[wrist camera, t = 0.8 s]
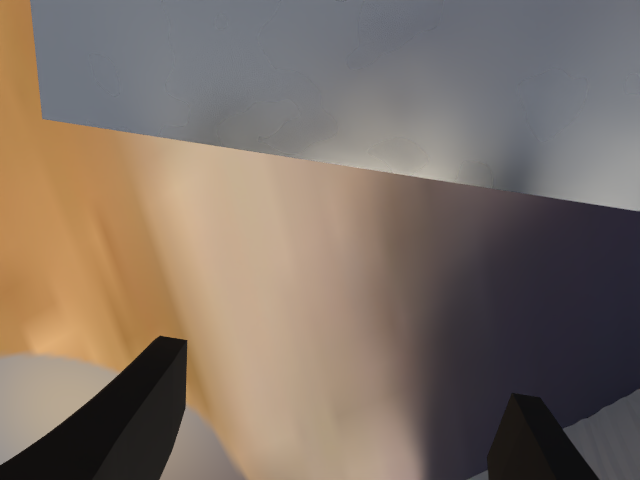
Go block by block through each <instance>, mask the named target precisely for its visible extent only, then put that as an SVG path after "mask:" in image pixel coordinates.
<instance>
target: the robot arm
mask: <svg viewBox="0 0 640 480" xmlns="http://www.w3.org/2000/svg"><path fill="white" fill-rule="evenodd" d="M186 367H187V340H182V339H176V338H170V337H164V336H159V337H158V338H156V339H155V340H154V341H153V342H152V343H151V344H150V345H149V346H148V347H147V348H146V349H145V350H144V351H143V352H142V353H141V354H140V355H139V356H138V357H137V358H136V359H135V360H134V361H133V362H132V363H131V364H130V365H129V366H127V367H126V368H125V369H124V370H123V371H122V372H121V373H120V374H119V375H118V376H117V377H116V378H115V379H114V380H112V381H111V382H110V383H109V384H108V385H107V386H106V387H105V388H103V389H102V390H101V391H100V392H99V393H98V394H97V395H96V396H95V397H93V398H92V399H91V400H90V401H88V402H87V403H86V404H85V405H84V406H82V407H81V408H80V409H79V410H77V411H76V412H75V413H74V414H72V415H71V416H70V417H69V418H67V419H66V420H65V421H64V422H62V423H61V424H60V425H59V426H57V427H56V428H54V429H53V430H52V431H50V432H49V433H48V434H47V435H45V436H44V437H42V438H41V439H39V440H38V441H37V442H35V443H34V444H32V445H31V446H29V447H28V448H26V449H25V450H24V451H22V452H21V453H19V454H18V455H16V456H14V457H13V458H11V459H10V460H8V461H6V462H5V463H3V464H2V465H0V480H159V479H160V477H161V474H162V472H163V470H164V468H165V465H166V463H167V461H168V459H169V456H170V454H171V452H172V449H173V446H174V443H175V440H176V436H177V434H178V431H179V427H180V424H181V421H182V417H183V414H184V411H185V405H186ZM487 463H488V479H489V480H600V479H599V478H598V477H597V475H596V474H595V473H594V471H593V470H592V469H591V467H590V466H589V465H588V463H587V462H586V461H585V459H584V458H583V457H582V455H581V454H580V453H579V451H578V450H577V449H576V447H575V446H574V444H573V443H572V442H571V440H570V439H569V438H568V436H567V435H566V433H565V432H564V431H563V429H562V428H561V426H560V425H559V424H558V422H557V421H556V419H555V418H554V416H553V415H552V414H551V412H550V411H549V409H548V408H547V407H546V405H545V404H544V403H543V401H542V400H541V398H540V397H533V396H527V395H521V394H515V393H512V394H511V397H510V400H509V402H508V405H507V407H506V410H505V412H504V415H503V418H502V420H501V423H500V425H499V428H498V431H497V433H496V436H495V438H494V441H493V444H492V446H491V449H490V451H489V454H488V457H487Z"/></svg>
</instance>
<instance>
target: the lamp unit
mask: <svg viewBox="0 0 640 480" xmlns="http://www.w3.org/2000/svg"><path fill="white" fill-rule="evenodd" d="M30 2H31V12H32V22H33V31H34V41H35V51H36V61H37V70H38V80H39V90H40V99H41V109H42V119H46V120H53V121H59V122H66V123H72V124H79V125H85V126H92V127H98V128H104V129H111V130H117V131H124V132H130V133H137V134H143V135H150V136H156V137H163V138H169V139H176V140H182V141H188V142H195V143H201V144H208V145H214V146H221V147H227V148H234V149H240V150H247V151H253V152H259V153H266V154H272V155H279V156H285V157H292V158H298V159H305V160H311V161H318V162H324V163H330V164H337V165H343V166H350V167H356V168H363V169H369V170H376V171H382V172H389V173H395V174H401V175H408V176H414V177H421V178H427V179H434V180H440V181H447V182H453V183H460V184H466V185H473V186H479V187H485V188H492V189H498V190H505V191H511V192H518V193H524V194H531V195H537V196H544V197H550V198H556V199H563V200H569V201H576V202H582V203H589V204H595V205H602V206H608V207H615V208H621V209H627V210H634V211H640V0H30Z"/></svg>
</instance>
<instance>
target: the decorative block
mask: <svg viewBox="0 0 640 480" xmlns="http://www.w3.org/2000/svg"><path fill="white" fill-rule="evenodd" d="M563 431H564V432H565V433H566V435H567V436H568V438H569V439H570V440H571V442H572V443H573V444H574V446H575V447H576V449H577V450H578V451H579V453H580V454H581V455H582V457H583V458H584V459H585V461H586V462H587V463H588V465H589V466H590V467H591V469H592V470H593V471H594V473H595V474H596V475H597V477H598V478H599V479H600V480H640V389H638V390H636V391H635V392H633V393H632V394H630V395H628V396H627V397H622V398H621V399H619V400H618V401H616V402H615V403H613V404H611V405H608V406H606V407H603V408H602V409H601V410H600V411H598V412H597V413H596V414H594V415H592V416H590V417H589V418H585V419H581V420H580V421H578V422H577V423H575V424H574V425H571V426H568V427H565V428H563ZM467 480H489V479H488V470H486V471H484V472H482V473H480V474H478V475H476V476H473V477H471V478H469V479H467Z"/></svg>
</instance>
